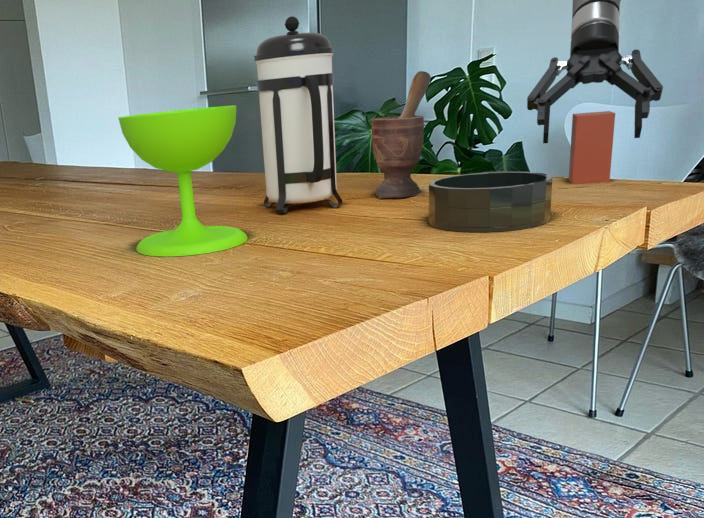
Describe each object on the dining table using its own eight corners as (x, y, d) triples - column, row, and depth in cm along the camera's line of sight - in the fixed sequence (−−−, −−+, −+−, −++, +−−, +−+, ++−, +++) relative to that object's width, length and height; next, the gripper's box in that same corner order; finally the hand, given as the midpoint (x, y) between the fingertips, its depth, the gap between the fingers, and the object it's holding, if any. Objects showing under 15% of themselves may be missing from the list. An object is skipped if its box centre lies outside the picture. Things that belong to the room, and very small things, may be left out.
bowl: (544, 208, 105) (546, 168, 103) (554, 230, 91) (557, 185, 89) (432, 213, 110) (432, 175, 108) (426, 234, 96) (425, 191, 94)
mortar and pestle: (390, 189, 136) (389, 74, 130) (436, 188, 132) (437, 69, 125) (365, 199, 128) (362, 76, 121) (413, 199, 123) (413, 71, 116)
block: (604, 179, 123) (609, 110, 120) (609, 184, 118) (615, 112, 115) (568, 181, 125) (572, 113, 121) (571, 186, 120) (576, 115, 116)
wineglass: (242, 228, 113) (231, 104, 107) (253, 248, 98) (241, 106, 92) (138, 239, 112) (121, 115, 106) (133, 261, 97) (114, 119, 91)
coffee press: (237, 214, 125) (221, 22, 115) (291, 198, 137) (281, 22, 126) (323, 218, 115) (313, 6, 104) (374, 200, 126) (370, 7, 115)
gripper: (673, 46, 126) (675, 145, 119) (517, 61, 136) (509, 154, 129) (681, 10, 120) (683, 113, 112) (517, 29, 130) (509, 125, 122)
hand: (590, 135), depth 121 cm, fingers open, 13 cm apart
